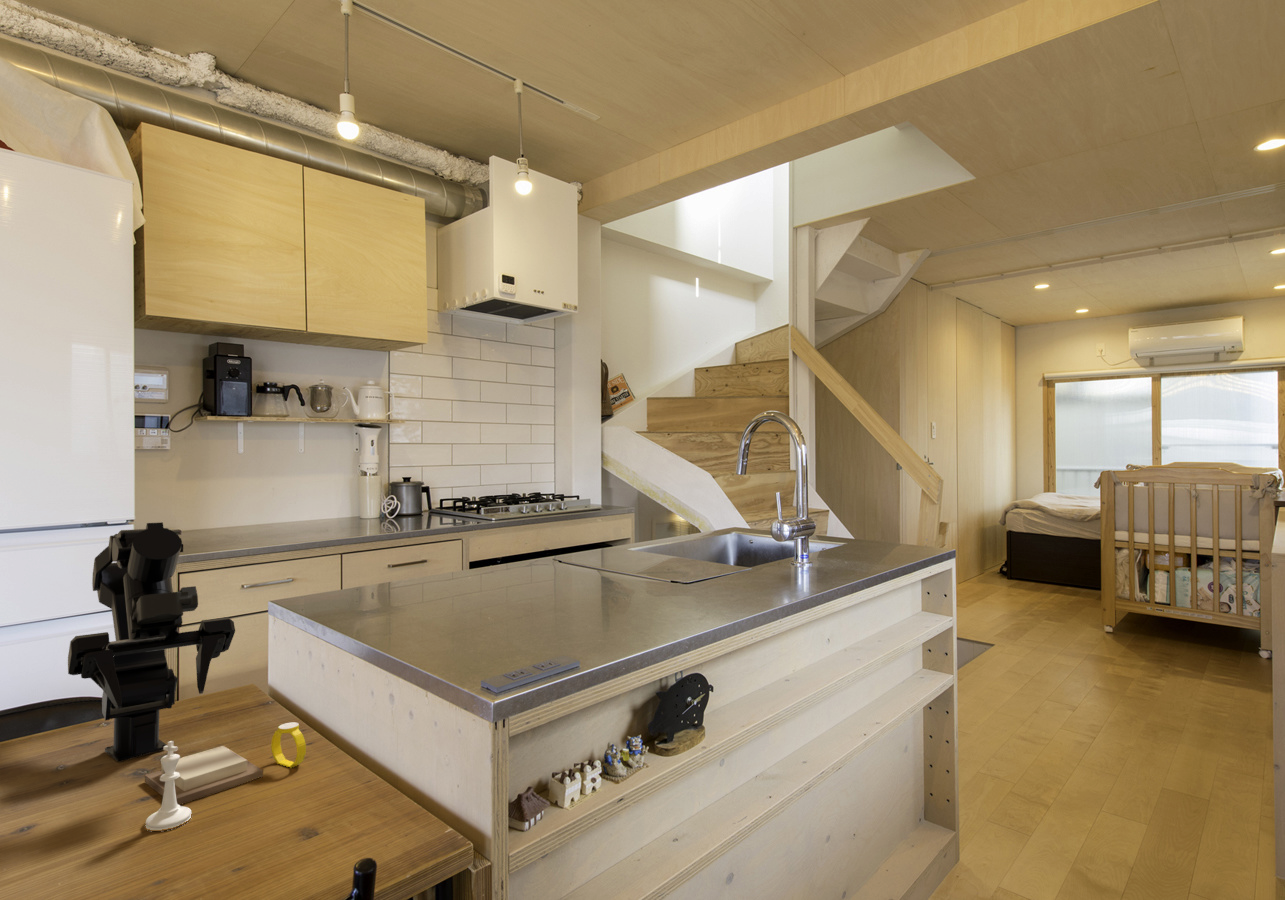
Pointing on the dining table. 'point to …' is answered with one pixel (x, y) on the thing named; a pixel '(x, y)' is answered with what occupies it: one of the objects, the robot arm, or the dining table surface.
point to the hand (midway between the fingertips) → (161, 699)
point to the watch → (298, 738)
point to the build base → (207, 787)
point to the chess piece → (169, 796)
